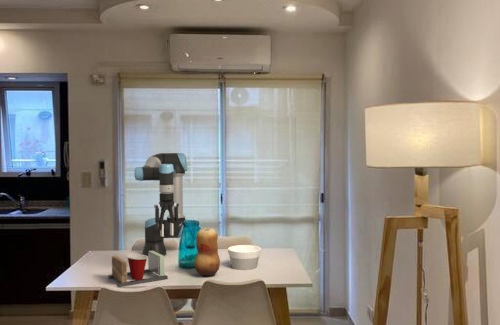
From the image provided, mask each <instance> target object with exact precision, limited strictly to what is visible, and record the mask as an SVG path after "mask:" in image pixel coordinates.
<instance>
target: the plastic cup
mask: <svg viewBox="0 0 500 325" xmlns="http://www.w3.org/2000/svg"><path fill="white" fill-rule="evenodd" d="M126 258H127V261H128V262H127V263H128V268H129V272H130V273H131V276H130V277H131V280H132V281H133V280H139V279H144V275H145V274H144V270H145V269H146V263H147V261H148V256H146V255H142V254H139V253H138V254H136V253H134V254H133V253H132V254H127V255H126Z"/></svg>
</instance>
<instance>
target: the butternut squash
mask: <svg viewBox="0 0 500 325" xmlns="http://www.w3.org/2000/svg"><path fill="white" fill-rule="evenodd" d="M195 238H196V240H195V242H196V244H195V247H196V250H197V251H196V252H197V254H196V256H195V259H194V265H193V266H194V268H195V271H196V272H197V273H199V274H200V275H202V276H204V277H205V276H206V277H210V276H211V275H214V274H217V273H218V271H219V269H220V267H221V260H220V255H219V252H218V251H219V246H218V238H219V237H218V233H217V231H216V229H214V228H212V227H210V228H209V227H205V228H202V229H200V230H198V231H197V233H196V237H195Z"/></svg>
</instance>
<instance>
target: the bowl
mask: <svg viewBox="0 0 500 325" xmlns="http://www.w3.org/2000/svg"><path fill="white" fill-rule="evenodd" d="M227 252H228V256H229V259H230V265H231V268H232V269H234V270H238V271H250V270H255V269H257V267H258V263H259V259H260V256H261V252H262V248H261V246H258V245H254V244H238V245H231V246H229V247H228V248H227Z"/></svg>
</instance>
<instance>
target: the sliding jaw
mask: <svg viewBox="0 0 500 325" xmlns="http://www.w3.org/2000/svg"><path fill="white" fill-rule="evenodd" d="M147 261H148V262H147V264H148V266H147V267H148V268H147V269H149V270H151V271H153V272H152V273H155V274H156V275H158V276H164V275H165V255H164V256H163V255H161V254H159V253H157V252H155V251H149V253H148V258H147Z"/></svg>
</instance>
